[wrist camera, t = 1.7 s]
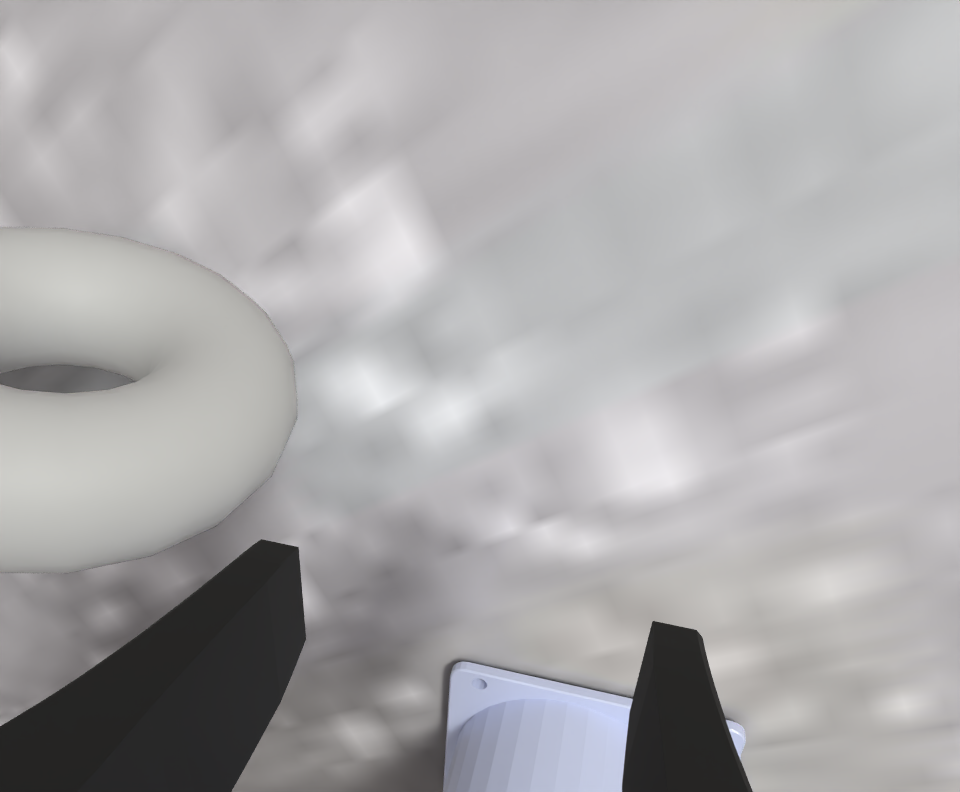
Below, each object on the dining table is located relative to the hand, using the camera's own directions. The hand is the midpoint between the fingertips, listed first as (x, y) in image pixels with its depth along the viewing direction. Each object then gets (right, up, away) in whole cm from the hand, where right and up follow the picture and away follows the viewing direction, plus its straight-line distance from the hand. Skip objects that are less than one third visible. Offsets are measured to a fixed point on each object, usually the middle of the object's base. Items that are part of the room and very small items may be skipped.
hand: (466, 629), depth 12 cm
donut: (-8, +7, +10) cm, 14 cm away
